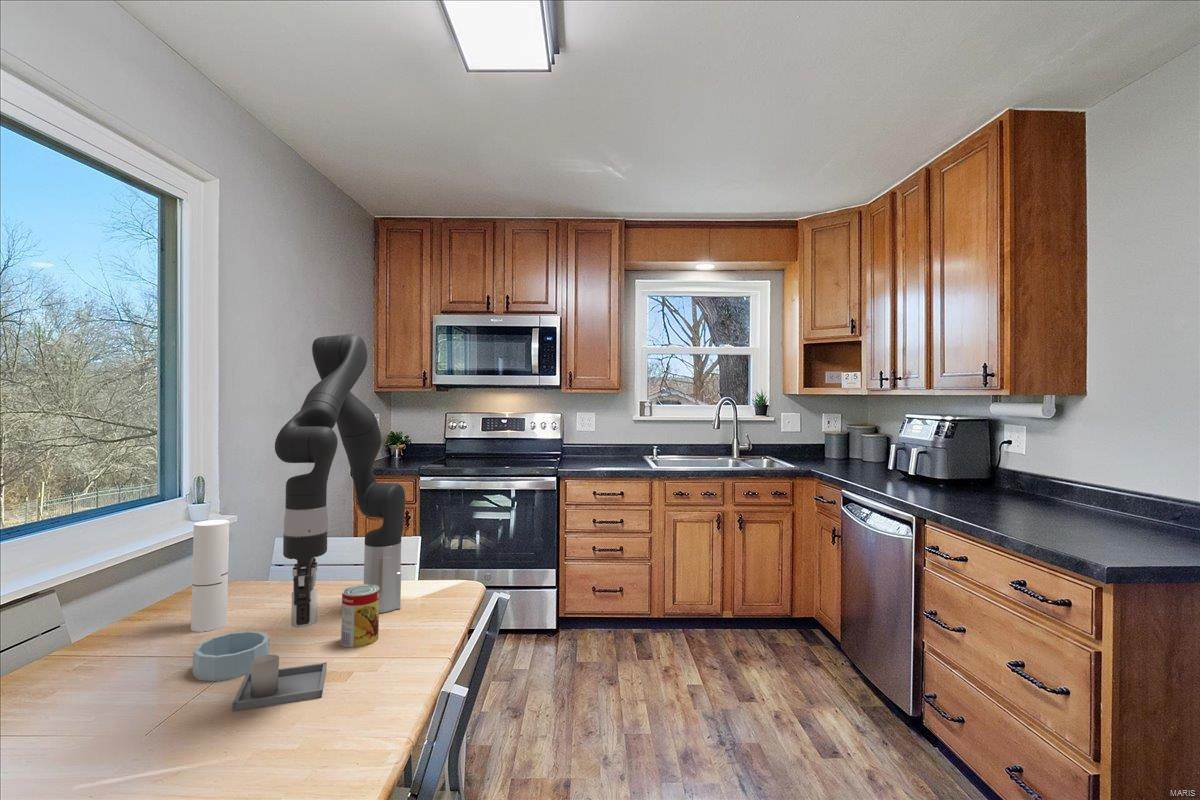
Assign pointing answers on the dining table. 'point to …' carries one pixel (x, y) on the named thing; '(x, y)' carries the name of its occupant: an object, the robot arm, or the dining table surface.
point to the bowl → (228, 655)
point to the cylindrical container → (210, 575)
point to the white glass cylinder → (312, 610)
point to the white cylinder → (264, 676)
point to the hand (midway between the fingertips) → (304, 618)
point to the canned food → (360, 615)
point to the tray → (286, 687)
